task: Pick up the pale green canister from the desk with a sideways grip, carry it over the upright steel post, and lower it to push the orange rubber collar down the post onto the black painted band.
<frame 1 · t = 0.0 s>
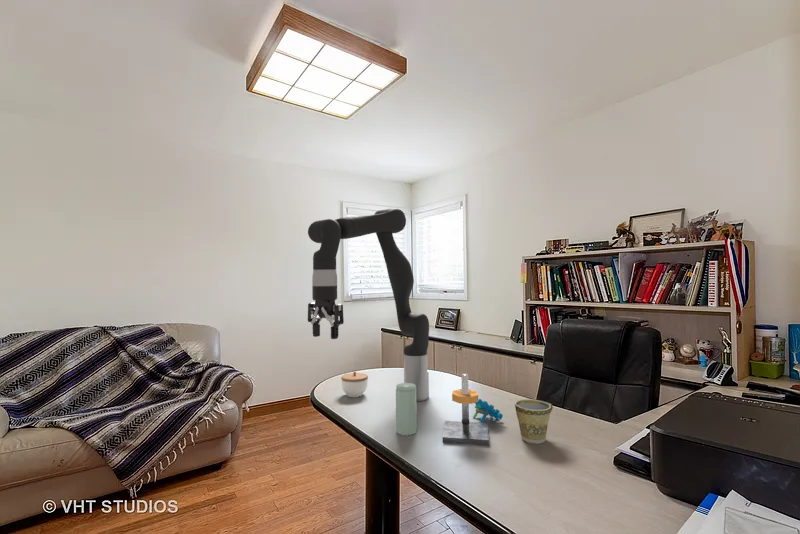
hand: (325, 337, 120), 29 cm above the table, tool pointing down, fingers open, 8 cm apart
lidded jar: (354, 395, 158), on the table
blue toy dinosaur: (487, 421, 129), on the table
ceramic cup: (536, 438, 114), on the table
pale green canister: (406, 431, 120), on the table
collar: (465, 396, 117), point 12 cm above the table, slide at 7.5 cm
post stand: (465, 434, 117), on the table
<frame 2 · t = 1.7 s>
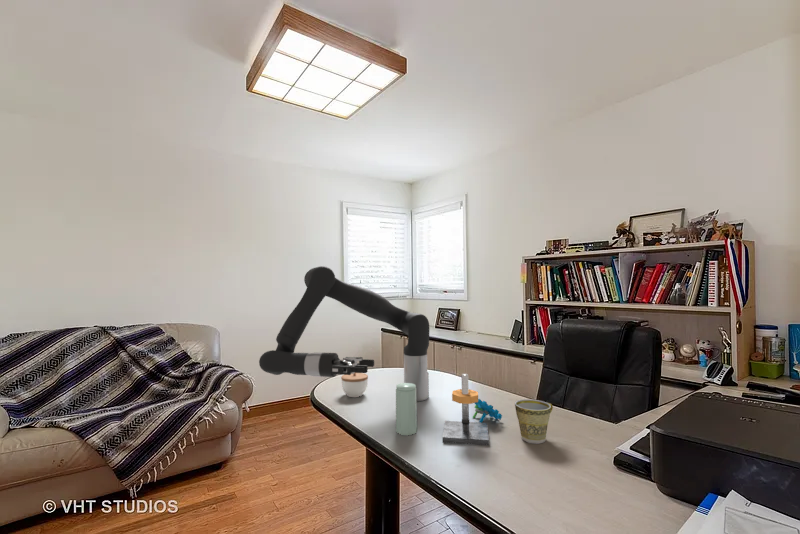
hand: (370, 366, 123), 20 cm above the table, tool horizontal, fingers open, 8 cm apart
nothing on the table moved.
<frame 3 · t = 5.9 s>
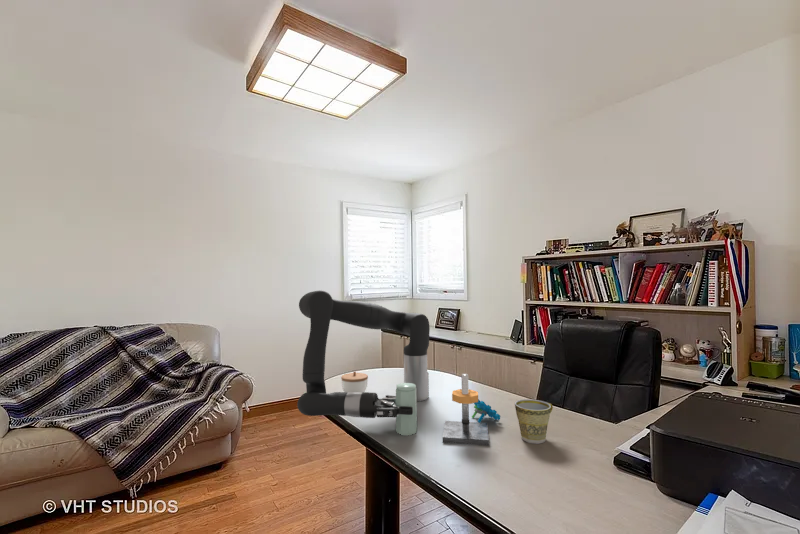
hand: (414, 407, 120), 8 cm above the table, tool horizontal, fingers closed on pale green canister, 6 cm apart
pale green canister: (406, 431, 120), on the table, touching gripper
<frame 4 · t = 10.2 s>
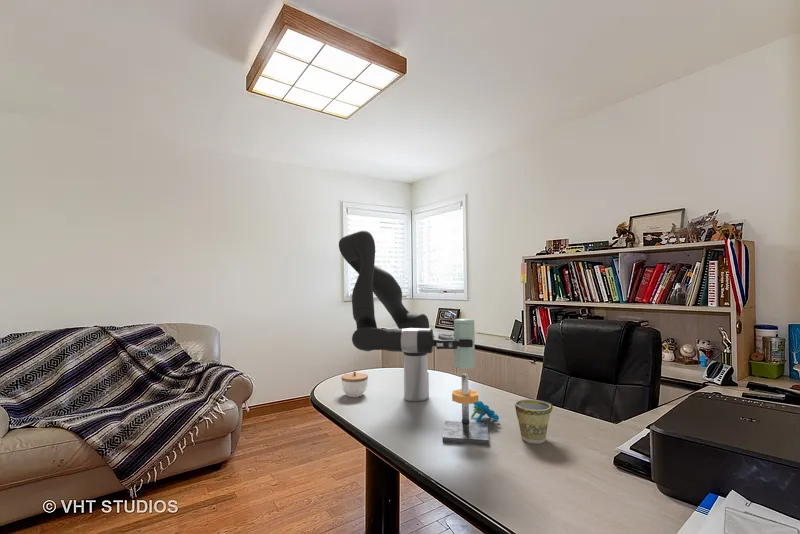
hand: (472, 341, 117), 28 cm above the table, tool horizontal, fingers closed on pale green canister, 6 cm apart
pale green canister: (464, 366, 118), point 20 cm above the table, touching gripper
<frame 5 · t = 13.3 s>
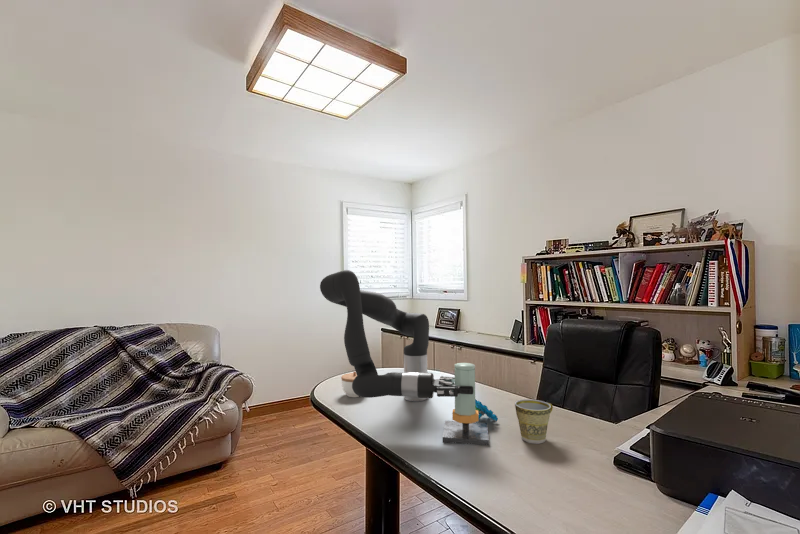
hand: (473, 387, 117), 14 cm above the table, tool horizontal, fingers closed on pale green canister, 6 cm apart
pale green canister: (465, 411, 117), point 7 cm above the table, touching collar, gripper
collar: (465, 415, 117), point 6 cm above the table, slide at 1.8 cm, touching pale green canister
when the fingers open (14 cm above the table, at t = 14.7 s): pale green canister stays where it is, resting on collar.
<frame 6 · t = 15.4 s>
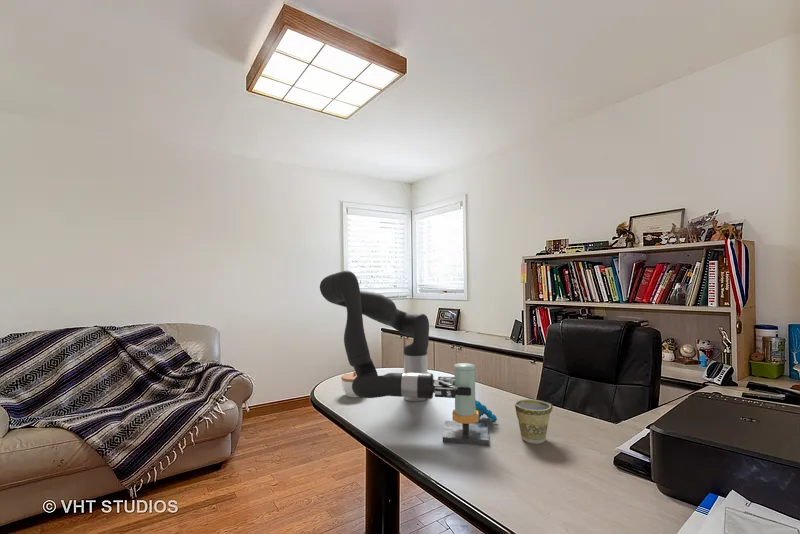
hand: (471, 387, 117), 14 cm above the table, tool horizontal, fingers open, 8 cm apart
pale green canister: (465, 412, 117), point 7 cm above the table, touching collar
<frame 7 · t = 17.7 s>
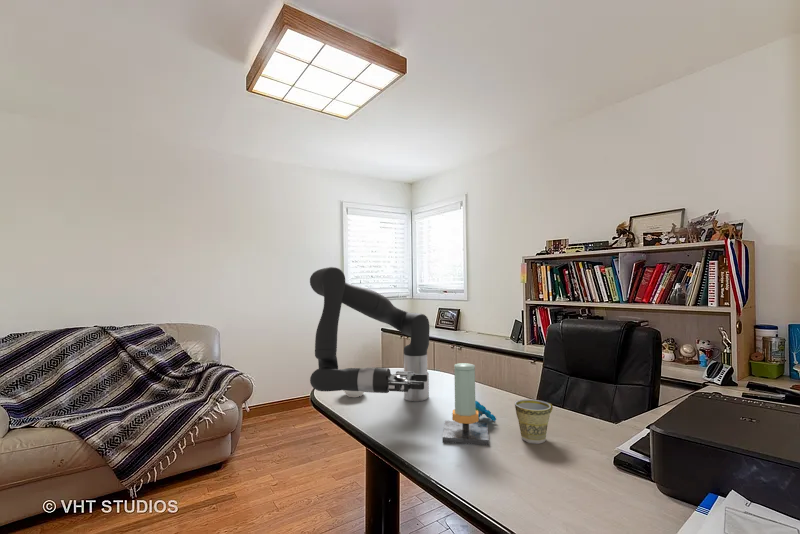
hand: (425, 381, 120), 15 cm above the table, tool horizontal, fingers open, 8 cm apart
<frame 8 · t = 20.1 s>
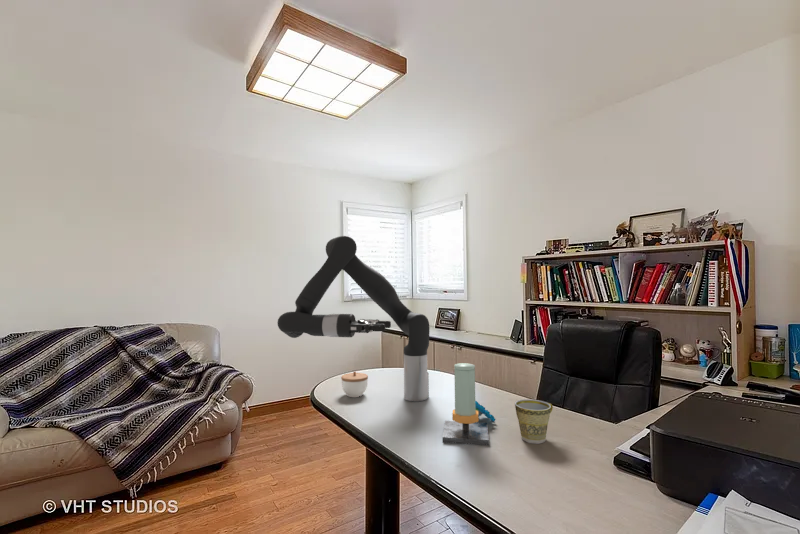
hand: (387, 326, 124), 32 cm above the table, tool horizontal, fingers open, 8 cm apart
at the end: collar slide at 1.7 cm; pale green canister 0.1 cm from the post stand (horizontally) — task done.
